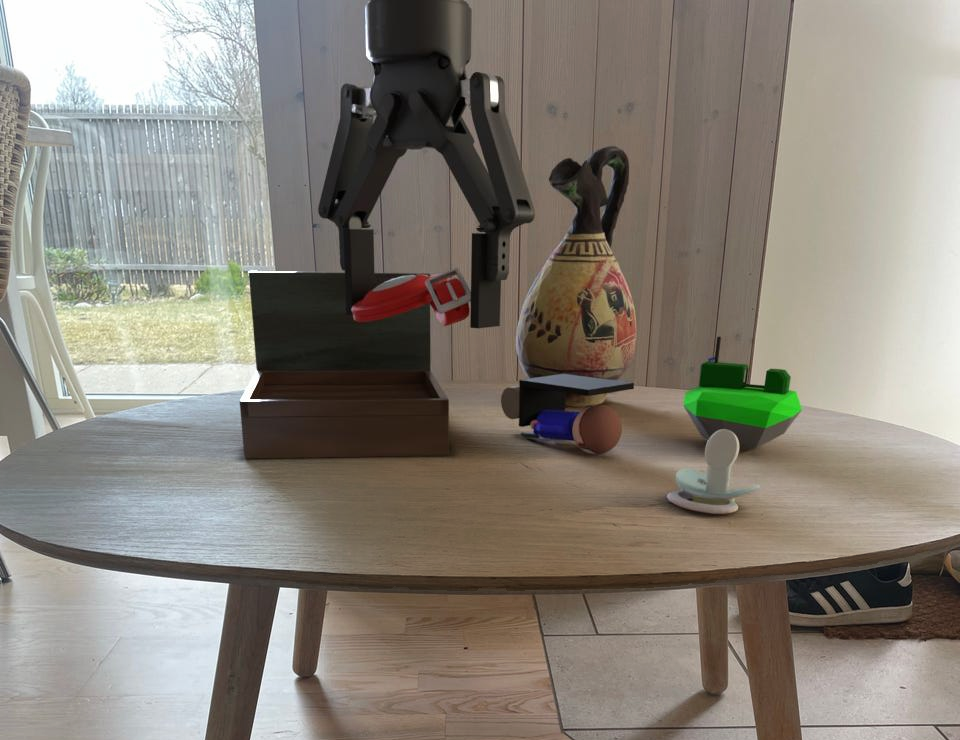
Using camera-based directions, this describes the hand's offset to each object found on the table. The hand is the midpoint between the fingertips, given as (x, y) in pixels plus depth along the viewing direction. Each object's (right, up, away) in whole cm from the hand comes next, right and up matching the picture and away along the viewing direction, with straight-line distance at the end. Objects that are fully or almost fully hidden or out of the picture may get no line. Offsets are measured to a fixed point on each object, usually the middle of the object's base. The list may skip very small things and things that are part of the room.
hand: (420, 320), depth 74 cm
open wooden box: (-10, -3, +27) cm, 28 cm away
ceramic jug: (+18, +6, +49) cm, 53 cm away
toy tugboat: (+32, -5, +24) cm, 41 cm away
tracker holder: (0, 0, 0) cm, 1 cm away
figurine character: (+14, -5, +25) cm, 28 cm away
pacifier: (+24, -14, +4) cm, 28 cm away
